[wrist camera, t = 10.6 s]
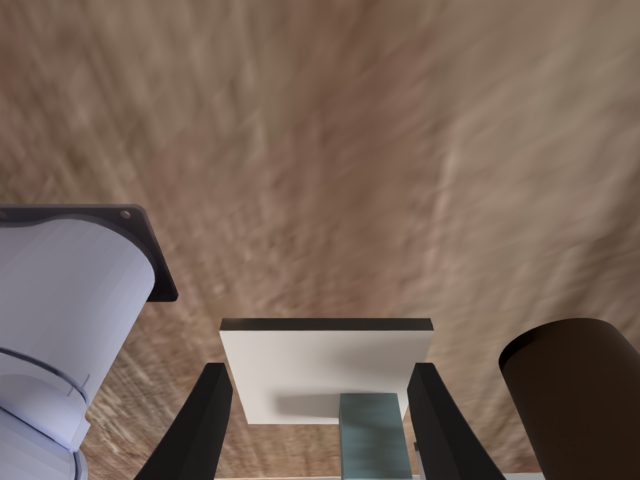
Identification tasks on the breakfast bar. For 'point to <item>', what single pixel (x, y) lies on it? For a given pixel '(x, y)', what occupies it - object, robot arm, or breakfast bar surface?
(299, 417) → the base board
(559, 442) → the olive oil
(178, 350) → the breakfast bar surface
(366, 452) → the teal brushed cube
